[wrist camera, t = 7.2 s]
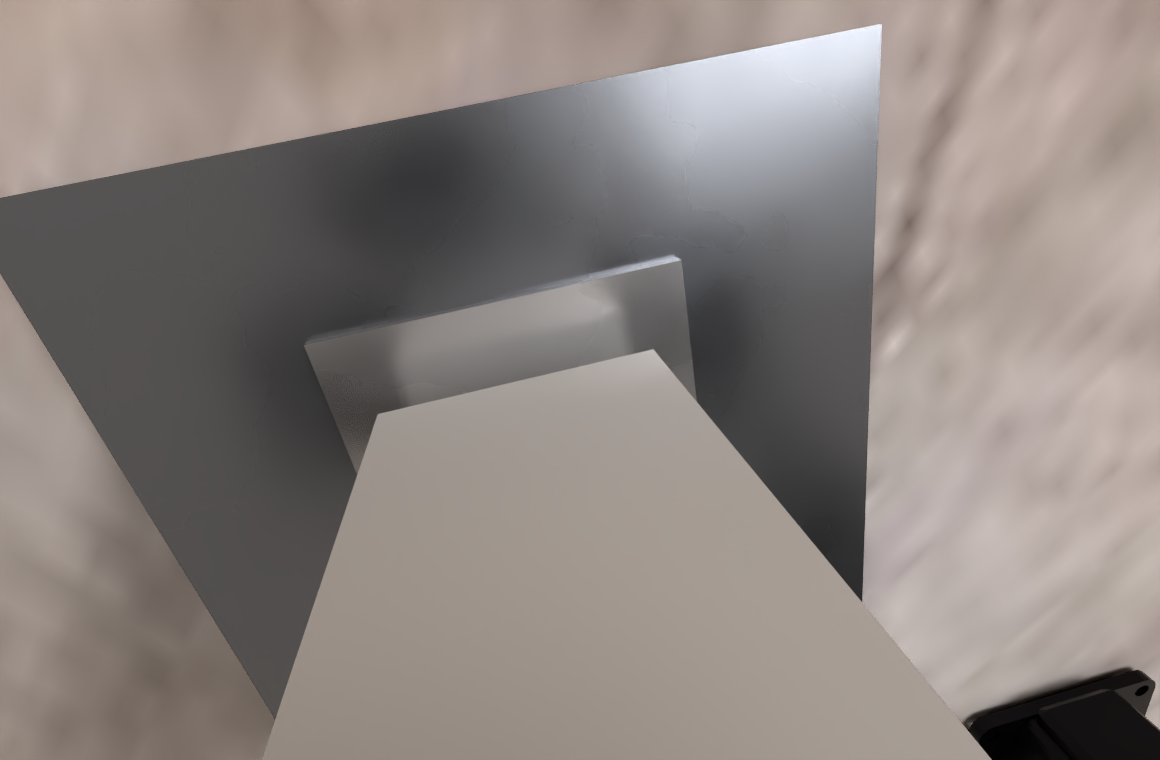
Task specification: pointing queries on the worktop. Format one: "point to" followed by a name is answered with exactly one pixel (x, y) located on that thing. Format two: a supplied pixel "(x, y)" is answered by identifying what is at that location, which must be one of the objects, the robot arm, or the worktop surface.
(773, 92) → the duct plate
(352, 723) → the light grey block
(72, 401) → the worktop surface
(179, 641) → the worktop surface
